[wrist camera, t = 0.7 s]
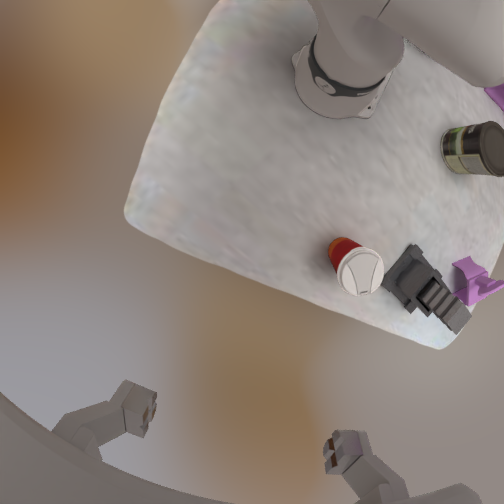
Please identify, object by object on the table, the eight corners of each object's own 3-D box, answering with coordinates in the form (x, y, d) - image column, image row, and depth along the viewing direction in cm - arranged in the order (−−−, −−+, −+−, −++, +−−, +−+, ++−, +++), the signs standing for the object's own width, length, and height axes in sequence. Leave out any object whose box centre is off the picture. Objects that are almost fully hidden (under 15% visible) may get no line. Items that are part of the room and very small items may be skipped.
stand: (410, 241, 49) (436, 255, 39) (436, 272, 50) (461, 289, 40) (377, 280, 52) (397, 301, 42) (405, 308, 53) (425, 330, 43)
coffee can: (434, 133, 43) (473, 124, 29) (463, 125, 41) (503, 118, 28) (448, 179, 45) (489, 182, 32) (476, 168, 44) (516, 170, 30)
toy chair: (449, 298, 52) (483, 326, 37) (448, 264, 50) (487, 288, 35) (472, 287, 51) (507, 311, 36) (472, 254, 49) (511, 274, 34)
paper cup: (361, 267, 52) (386, 294, 38) (324, 272, 52) (340, 303, 39) (358, 228, 50) (386, 245, 36) (320, 233, 51) (337, 252, 37)
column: (414, 266, 48) (463, 302, 31) (425, 278, 49) (472, 315, 31) (401, 281, 49) (445, 323, 32) (412, 293, 50) (455, 336, 32)
